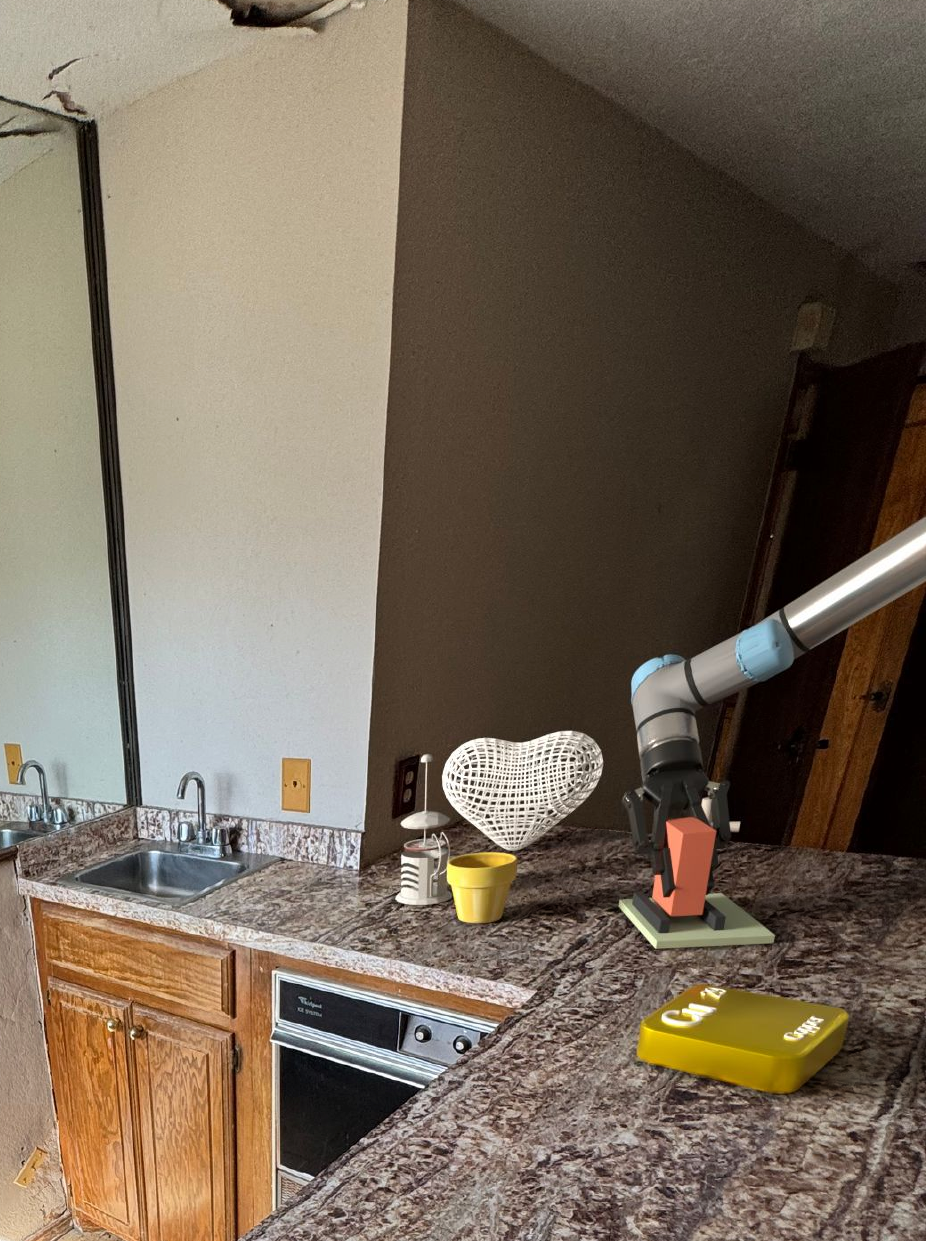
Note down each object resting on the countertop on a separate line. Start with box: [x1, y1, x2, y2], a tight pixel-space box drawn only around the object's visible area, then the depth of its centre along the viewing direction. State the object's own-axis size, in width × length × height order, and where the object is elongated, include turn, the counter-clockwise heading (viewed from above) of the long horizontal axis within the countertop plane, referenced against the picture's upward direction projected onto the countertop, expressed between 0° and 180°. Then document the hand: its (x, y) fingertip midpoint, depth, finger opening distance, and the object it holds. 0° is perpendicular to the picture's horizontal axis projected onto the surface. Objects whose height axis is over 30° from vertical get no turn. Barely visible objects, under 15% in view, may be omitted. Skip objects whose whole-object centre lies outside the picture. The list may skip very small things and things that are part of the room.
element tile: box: [636, 983, 850, 1095], centre depth 95 cm, size 15×15×5 cm
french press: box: [394, 753, 453, 906], centre depth 154 cm, size 10×12×25 cm
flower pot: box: [446, 851, 518, 924], centre depth 144 cm, size 10×10×10 cm
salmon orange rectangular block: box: [651, 817, 716, 917], centre depth 128 cm, size 4×9×12 cm, turn 164°
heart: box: [441, 730, 604, 852], centre depth 173 cm, size 28×16×22 cm, turn 62°
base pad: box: [618, 891, 776, 950], centre depth 130 cm, size 14×20×3 cm
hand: (688, 891), depth 125 cm, fingers closed on salmon orange rectangular block, 4 cm apart
